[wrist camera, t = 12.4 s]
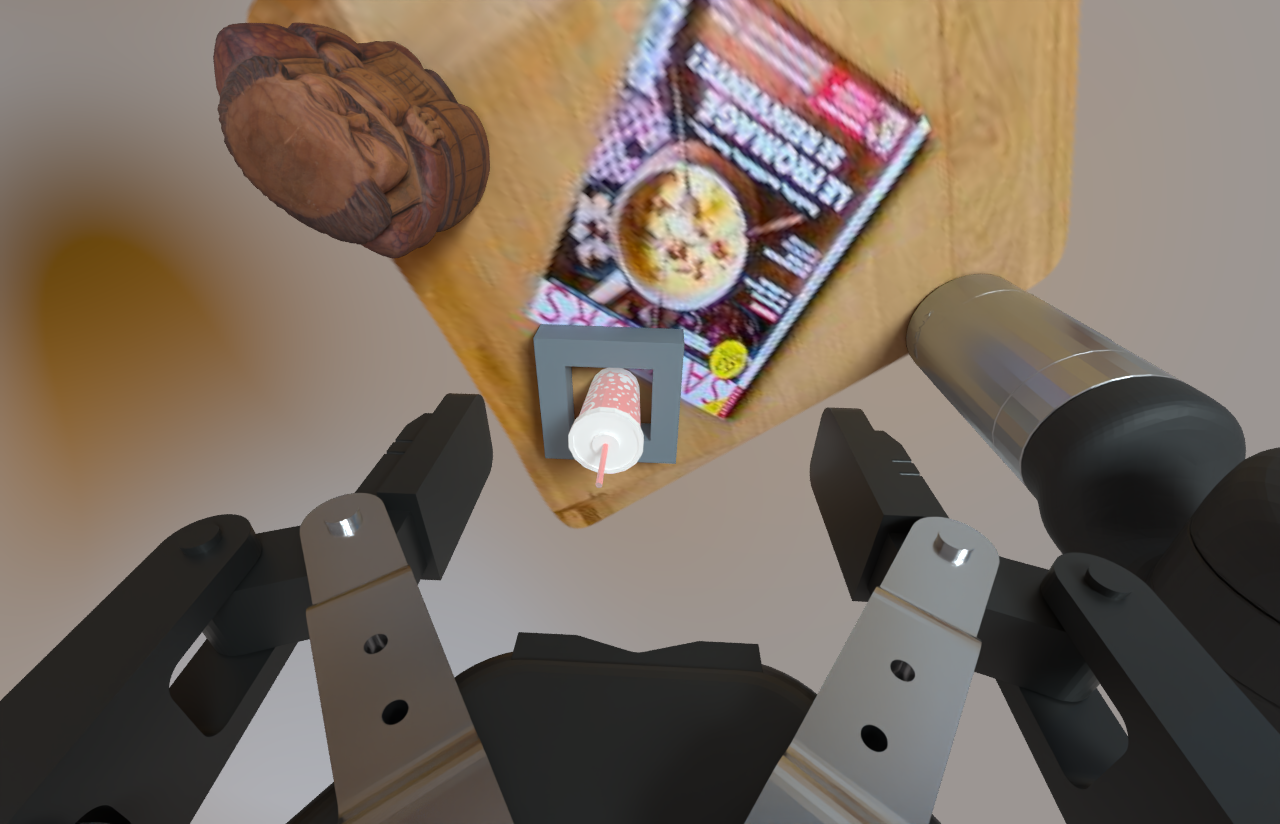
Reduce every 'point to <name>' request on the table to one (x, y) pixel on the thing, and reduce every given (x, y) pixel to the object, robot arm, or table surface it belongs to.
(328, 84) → the wooden figurine
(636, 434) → the beverage cup
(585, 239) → the table surface
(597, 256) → the table surface
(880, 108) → the table surface
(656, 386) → the hole plate
